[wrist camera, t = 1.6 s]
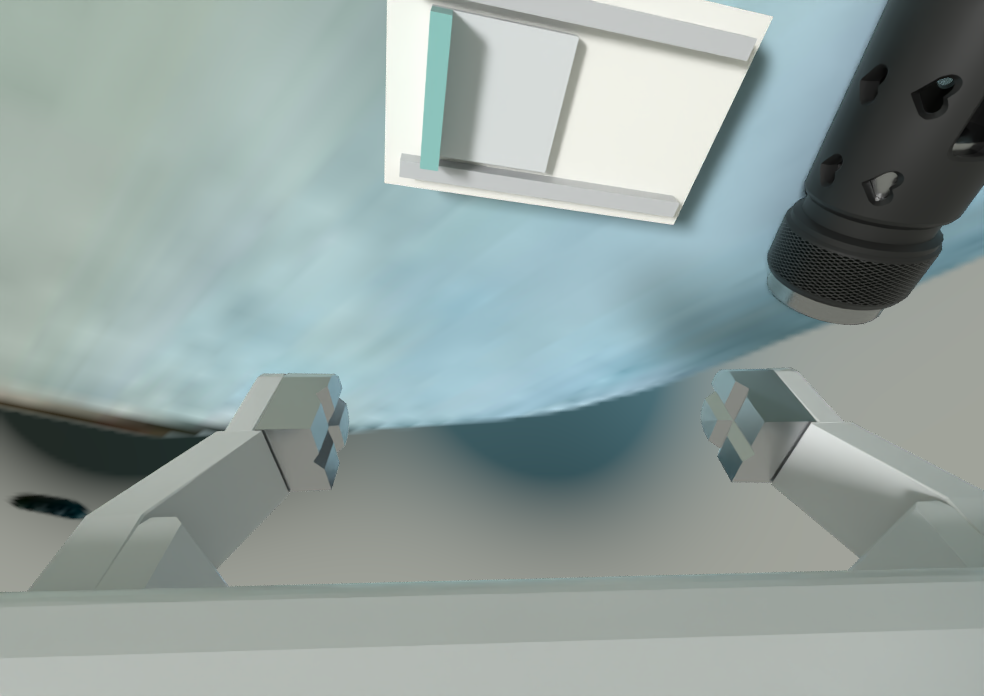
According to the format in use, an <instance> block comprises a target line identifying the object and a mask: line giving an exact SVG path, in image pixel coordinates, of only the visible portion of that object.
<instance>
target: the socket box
mask: <svg viewBox="0 0 984 696" xmlns="http://www.w3.org/2000/svg"><path fill="white" fill-rule="evenodd" d="M433 4H434V5H439V6H444V7H448V8H453V9H458V10H462V11H467V12H472V13H477V14H481V15H486V16H491V17H495V18H500V19H505V20H509V21H514V22H519V23H523V24H528V25H533V26H538V27H542V28H547V29H552V30H556V31H561V32H566V33H570V34H575V35H577V36H579V40H578V44H577V48H576V52H575V56H574V60H573V64H572V68H571V72H570V76H569V80H568V83H567V87H566V91H565V95H564V99H563V103H562V107H561V111H560V115H559V119H558V123H557V127H556V131H555V135H554V139H553V143H552V147H551V151H550V155H549V159H548V163H547V167H546V171H545V173H542V172H536V171H530V170H523V169H517V168H511V167H504V166H498V165H492V164H485V163H479V162H473V161H466V160H460V159H454V158H447V157H441V156H439V167H438V171H433V170H426V169H420V158H421V143H422V128H423V113H424V98H425V83H426V68H427V53H428V38H429V23H430V10H431V8H432V5H433ZM772 18H773V17H772V16H768V15H764V14H760V13H756V12H751V11H747V10H743V9H739V8H735V7H730V6H726V5H722V4H718V3H714V2H709V1H705V0H387V51H386V118H385V183H388V184H395V185H402V186H409V187H416V188H423V189H430V190H437V191H444V192H450V193H457V194H464V195H471V196H478V197H485V198H492V199H499V200H506V201H512V202H519V203H526V204H533V205H540V206H547V207H554V208H561V209H568V210H574V211H581V212H588V213H595V214H602V215H609V216H616V217H623V218H630V219H636V220H643V221H650V222H657V223H664V224H671V225H674V223H675V221H676V219H677V217H678V215H679V212H680V210H681V208H682V206H683V204H684V202H685V200H686V198H687V196H688V194H689V192H690V190H691V187H692V185H693V183H694V181H695V179H696V177H697V175H698V173H699V171H700V169H701V167H702V164H703V162H704V160H705V158H706V156H707V154H708V152H709V150H710V148H711V146H712V144H713V142H714V139H715V137H716V135H717V133H718V131H719V129H720V127H721V125H722V123H723V121H724V119H725V117H726V114H727V112H728V110H729V108H730V106H731V104H732V102H733V100H734V98H735V96H736V94H737V91H738V89H739V87H740V85H741V83H742V81H743V79H744V77H745V75H746V73H747V71H748V69H749V66H750V64H751V62H752V60H753V58H754V56H755V54H756V52H757V50H758V48H759V46H760V44H761V41H762V39H763V37H764V35H765V33H766V31H767V29H768V27H769V25H770V23H771V21H772Z"/></svg>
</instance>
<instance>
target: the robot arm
mask: <svg viewBox="0 0 984 696" xmlns="http://www.w3.org/2000/svg"><path fill="white" fill-rule="evenodd" d="M711 384H712V386H713V388H714V390H715V392H713V393H712V394H711V395H709V396H708V397H707V398H706V399H705V400H704V403H703V406H702V409H701V424H702V427H703V431H704V433H705V435H706V437H707V439H708V440H709V441H710V442H712V443H713V444H714V445H716V446H717V447H719V448H720V450H719V453H718V456H717V457H718V459H719V461H720V462H721V464H722V466H723V468H724V470H725V471H726V473H727V475H728V477H729V479H730V480H731V482H754V483H759V482H761V483H772V484H771V485H772V486H774V487H775V488H776V489H777V490H778V491H780V492H781V493H782V494H783V495H784V496H786V497H787V498H788V499H789V500H790V501H792V502H793V503H794V504H795V505H796V506H798V507H799V508H800V509H801V510H802V511H804V512H805V513H806V514H807V515H808V516H810V517H811V518H812V519H813V520H814V521H816V522H817V523H818V524H819V525H821V526H822V527H823V528H824V529H825V530H827V531H828V532H829V533H830V534H831V535H833V536H834V537H835V538H836V539H837V540H839V541H840V542H841V543H842V544H843V545H845V546H846V547H847V548H848V549H849V550H851V551H852V552H853V553H854V554H855V555H857V556H858V557H859V558H860V559H859V560H858V561H857V562H856V563H855V564H854V565H853V566H852V567H851V568H850V569H849V570H848V571H815V572H814V571H813V572H812V571H811V572H774V573H773V572H772V573H735V574H699V575H697V574H695V575H656V576H618V577H579V578H542V579H508V580H507V579H505V580H470V581H469V580H467V581H429V582H390V583H389V582H388V583H350V584H314V585H313V584H311V585H271V586H235V587H233V586H232V587H229V586H228V584H227V583H226V582H225V580H224V579H223V578H222V576H221V575H220V574H219V572H218V571H217V570H216V569H217V568H218V567H219V566H220V565H221V564H222V563H223V562H224V561H225V560H226V559H227V558H228V557H229V556H230V555H231V554H232V553H233V552H234V551H235V550H236V549H237V547H239V546H240V545H241V544H242V543H243V542H244V540H245V539H246V538H247V537H248V536H249V535H250V534H251V533H252V532H253V531H254V530H255V529H256V528H257V527H258V526H259V525H260V524H261V523H262V522H263V521H264V520H265V519H266V518H267V517H268V516H269V515H270V514H271V513H272V512H273V510H275V508H276V507H278V506H279V504H280V503H281V502H282V501H283V500H284V499H285V498H286V497H287V496H288V495H289V492H296V491H319V490H332V486H333V483H334V480H335V477H336V474H337V470H338V467H339V464H340V463H339V459H338V456H337V453H338V451H340V450H341V449H342V448H343V447H344V446H345V444H346V440H347V437H348V429H349V415H348V409H347V405H346V403H345V402H344V401H343V400H341V399H340V398H339V396H340V393H341V390H342V386H341V383H340V379H339V376H337V375H336V374H298V373H288V374H262V375H260V376H259V377H258V378H257V379H256V380H255V382H254V384H253V385H252V387H251V389H250V390H249V392H248V394H247V395H246V397H245V399H244V400H243V402H242V404H241V405H240V407H239V409H238V410H237V412H236V414H235V415H234V417H233V418H232V420H231V422H230V423H229V425H228V427H227V428H226V430H225V431H217V432H215V433H214V434H212V435H211V436H209V437H208V438H206V439H204V440H203V441H201V442H200V443H198V444H197V445H195V446H194V447H192V448H191V449H189V450H188V451H186V452H185V453H183V454H181V455H180V456H178V457H177V458H175V459H174V460H172V461H170V462H169V463H167V464H166V465H164V466H163V467H161V468H160V469H158V470H157V471H155V472H154V473H152V474H151V475H149V476H147V477H146V478H144V479H143V480H141V481H139V482H138V483H136V484H135V485H133V486H132V487H130V488H129V489H127V490H126V491H124V492H122V493H121V494H119V495H118V496H116V497H115V498H113V499H112V500H110V501H109V502H107V503H105V504H104V505H102V506H101V507H99V508H98V509H96V510H95V511H93V512H92V513H90V514H88V515H87V516H86V517H85V518H84V519H83V520H82V522H81V523H80V524H79V526H78V527H77V528H76V529H75V531H74V532H73V533H72V534H71V536H70V537H69V538H68V540H67V541H66V542H65V543H64V545H63V546H62V547H61V549H60V550H59V551H58V553H57V554H56V555H55V556H54V558H53V559H52V560H51V562H50V563H49V564H48V565H47V567H46V568H45V569H44V571H43V572H42V573H41V574H40V576H39V577H38V578H37V579H36V581H35V582H34V583H33V585H32V586H31V587H30V588H29V590H28V591H27V592H0V696H984V490H982V489H980V488H978V487H976V486H974V485H972V484H970V483H968V482H966V481H965V480H962V479H961V478H959V477H957V476H955V475H953V474H951V473H949V472H947V471H945V470H943V469H942V468H940V467H938V466H936V465H934V464H932V463H930V462H928V461H926V460H924V459H922V458H921V457H919V456H917V455H914V454H913V453H911V452H909V451H907V450H905V449H903V448H901V447H899V446H897V445H896V444H894V443H891V442H890V441H888V440H886V439H884V438H882V437H880V436H878V435H876V434H874V433H872V432H870V431H869V430H867V429H865V428H863V427H861V426H859V425H857V424H855V423H853V422H844V421H843V420H842V419H841V417H840V416H839V415H838V414H837V413H836V412H835V411H834V410H833V409H832V408H831V406H830V405H829V404H828V403H827V402H826V401H825V400H824V399H823V398H822V397H821V396H820V394H819V393H818V392H817V391H816V390H815V389H814V388H813V387H812V386H811V385H810V384H809V382H808V381H807V380H806V379H805V378H804V377H803V376H802V375H801V374H800V372H799V371H797V370H795V369H793V368H768V369H735V370H720V371H719V372H718V373H717V374H716V375H715V377H714V379H713V381H712V383H711Z"/></svg>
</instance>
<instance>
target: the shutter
mask: <svg viewBox="0 0 984 696" xmlns="http://www.w3.org/2000/svg"><path fill="white" fill-rule="evenodd" d="M578 40H579V36H577V35H575V34H570V33H566V32H561V31H556V30H552V29H547V28H542V27H538V26H533V25H528V24H523V23H519V22H514V21H509V20H505V19H500V18H495V17H491V16H486V15H481V14H477V13H472V12H467V11H462V10H458V9H453V8H448V7H444V6H439V5H434V4H433V5H432V8H431V10H430V23H429V38H428V53H427V68H426V83H425V98H424V113H423V128H422V143H421V158H420V169H426V170H433V171H438V167H439V156H441V157H447V158H454V159H460V160H466V161H473V162H479V163H485V164H492V165H498V166H504V167H511V168H517V169H523V170H530V171H536V172H542V173H545V171H546V167H547V163H548V159H549V155H550V151H551V147H552V143H553V139H554V135H555V131H556V127H557V123H558V119H559V115H560V111H561V107H562V103H563V99H564V95H565V91H566V87H567V83H568V80H569V76H570V72H571V68H572V64H573V60H574V56H575V52H576V48H577V44H578Z"/></svg>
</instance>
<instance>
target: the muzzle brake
mask: <svg viewBox="0 0 984 696" xmlns="http://www.w3.org/2000/svg"><path fill="white" fill-rule="evenodd" d="M946 77H949V78H952V79H953V81H952V82H951V83H949V84H947V85H939V84H938V83H937V81H938V80H940V79H943V78H946ZM983 185H984V0H889V1H888V3H887V5H886V7H885V9H884V12H883V14H882V16H881V18H880V20H879V22H878V25H877V27H876V29H875V31H874V33H873V35H872V38H871V40H870V42H869V44H868V46H867V48H866V51H865V53H864V55H863V57H862V59H861V61H860V64H859V66H858V68H857V70H856V72H855V74H854V77H853V79H852V81H851V83H850V85H849V87H848V90H847V92H846V94H845V96H844V98H843V101H842V103H841V105H840V107H839V109H838V111H837V114H836V116H835V118H834V120H833V122H832V124H831V127H830V129H829V131H828V133H827V135H826V137H825V140H824V142H823V144H822V146H821V148H820V150H819V153H818V155H817V157H816V159H815V161H814V163H813V166H812V168H811V170H810V172H809V174H808V176H807V179H806V181H805V190H806V192H807V194H808V195H807V197H806V198H803V199H801V200H799V201H797V202H796V203H795V204H794V206H793V207H791V208H790V209H789V210H788V211H787V213H786V215H785V217H784V219H783V221H782V223H781V226H780V228H779V230H778V232H777V234H776V237H775V239H774V241H773V243H772V245H771V248H770V250H769V252H768V265H769V268H770V270H771V271H770V273H769V275H768V277H767V285H768V287H769V290H770V291H771V293H772V294H773V295H774V296H775V297H776V298H777V299H778V300H779V301H780V302H782V303H783V304H785V305H786V306H788V307H789V308H791V309H793V310H795V311H797V312H799V313H801V314H804V315H806V316H808V317H811V318H815V319H818V320H821V321H826V322H830V323H836V324H844V325H857V324H864V323H867V322H870V321H872V320H874V319H875V318H877V317H878V316H879V315H880V314H881V312H882V311H883V310H884V308H887V307H891V306H893V305H895V304H897V303H899V302H900V301H902V300H903V299H905V298H906V297H908V295H909V294H910V293H911V291H912V290H913V289H914V287H915V286H916V285H917V283H918V282H919V281H920V279H921V278H922V277H923V275H924V274H925V273H926V271H927V270H928V269H929V267H930V266H931V265H932V263H933V262H934V261H935V259H936V258H937V257H938V255H939V254H940V252H941V250H942V241H943V234H942V232H941V231H940V228H941V227H942V226H943V225H947V224H949V223H951V222H953V221H955V220H956V219H958V218H959V217H961V215H962V214H963V213H964V211H965V210H966V208H967V207H968V206H969V204H970V203H971V202H972V200H973V199H974V198H975V196H976V195H977V194H978V192H979V191H980V190H981V188H982V187H983Z"/></svg>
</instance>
